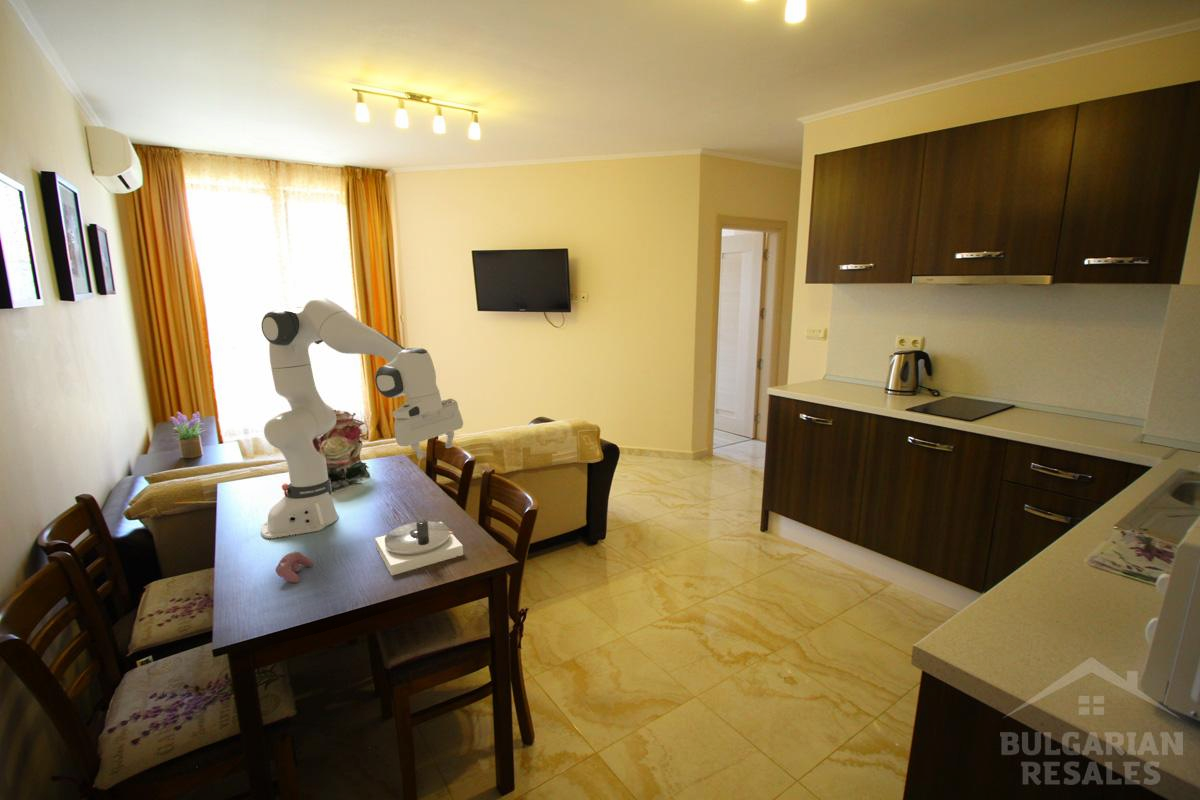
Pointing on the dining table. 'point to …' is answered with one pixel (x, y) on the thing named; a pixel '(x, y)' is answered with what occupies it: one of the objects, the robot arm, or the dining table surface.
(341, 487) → the rose bouquet
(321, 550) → the dining table surface
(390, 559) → the wheel base
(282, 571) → the pink curved piece
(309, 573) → the dining table surface
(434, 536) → the handwheel
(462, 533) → the dining table surface
